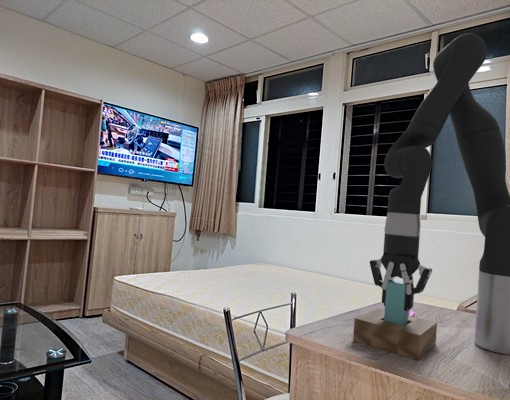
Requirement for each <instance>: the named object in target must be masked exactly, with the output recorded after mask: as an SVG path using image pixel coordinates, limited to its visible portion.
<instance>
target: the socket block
mask: <svg viewBox="0 0 510 400" xmlns="http://www.w3.org/2000/svg"><path fill="white" fill-rule="evenodd" d="M384 313H385V309H381V308H375V309H372V310H371V311H368V312H366V313H364V314H361V315H359V316H356V317H355V318H354V319H353V320H354V321H353V335H352V341H353V342H357V343H360V344H364V345H367V346H370V347H373V348H377V349H379V350H383V351H386V352H389V353H393V354H397V355H399V356H403V357H405V358H409V359H413V360H416V361H419V360H421V359H422V357H424V356H425V355H426V354H427V353H428V352H429V351H431V349H433V347H434V346H436V342H437V331H438V330H437V329H438V322H437V321H433V320H428V319H423V318H420V317H416V316H415V317H412V316H408V323H407V325H406V326H403V325H399V324H395V323H392V322H388V321H384Z"/></svg>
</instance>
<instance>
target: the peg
mask: <svg viewBox="0 0 510 400" xmlns="http://www.w3.org/2000/svg"><path fill="white" fill-rule="evenodd" d="M405 294H407V293H406V285H404V283H403V281H399V280H395V279H394V280H393V281H390V282H387V286H386V300H385V306H384V310H385V313H384V321H388V322H392V323H395V324H399V325H403V326H406V325H407V323H408V311H405V310H404V306H405Z"/></svg>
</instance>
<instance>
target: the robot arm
mask: <svg viewBox="0 0 510 400" xmlns="http://www.w3.org/2000/svg"><path fill="white" fill-rule="evenodd" d="M487 48H488V47H487V45H486V42H485V41H484V40H483V38H482V37H481V36H479V35H477V34H475V33H470V32H469V33H464V34H461V35H459V36H458V37H455V38H454V39H453V40H451V41H450V43H448V44H447V45H446V46H445V47H444V48H442V49H441V50H440V51H439V52H438V53H437V54H436V55H435V57H434V60H433V63H432V65H433V67H432V68H433V72H434V76H435V78H436V84H435V85H434V86H433V88H432V89H431V90H430V92H429V93H428V94H427V95H426V96H425V98H424V99H423V101H421V103H420V105H419V106H418V108H417V110H415V112H414V114H413V117H412V118H411V121H410V122H409V124H408V127H407V128H406V129H405V131H404V132H403V133H402V134H401V135H400V136H399V137H398V139H397V140H396V141H395V142H394V143H393V144H392V145H391V147H390V148H389V150H388V151H387V153H386V155H385V157H384V163H383V165H384V169H385V172H386V174H387V175H388V176H390V177H391V178H395V179H402V180H401V183H400V184H399V186H397V187H393V188H392V189H391V190H390V191H389V194H388V201H387V213H386V219H385V222H384V223H385V226H384V237H383V238H384V240H383V250H382V251H383V254H382V255H381V257H380V258H379V259H371V260H369V267H370V269H371V270H370V272H371V274H372V275H371V276H372V278H373V282H374V285H375V286H378V287H380V288H381V290H382V292H381V293H382V295H381V303H382V304H383V307H385V300H386V286H387V282H390V281H393V280H394V281H395V278H400V279H402V282H403V283H404V285H406V293H407V294H405V306H404V310H405V311H409V310H412V309H413V307H414V299H415V298H414V297H415V295H416V294H421V293H423V292H424V290H425V288H426V285H427V284H428V281H429V279H430V277H431V275H432V273H433V269H432V268H431V267H426V266H424V265H422V264H421V263H420V259H419V252H420V251H419V250H420V238H421V237H420V236H421V206H422V196H423V193H424V191H425V188H426V185H427V182H428V179H429V177H430V174H431V171H432V165H433V162H432V156H431V153H430V151H429V150H428V149H427V148H429V147H431V146H432V145H433V144H435V143H436V141H437V139H438V138H439V136H440V134H441V131H442V129H443V128H444V126H445V124H446V122H447V120H448V118H449V115H450V119H451V122H452V125H453V126H452V127H453V128H454V129H453V130H454V133H455V137H456V141H457V146H458V149H459V154H460V156H461V159H462V161H463V166H464V168H465V171H466V175H467V177H468V180H469V182H470V185H471V188H472V192H473V195H474V202H475V208H476V213H477V221H478V227H479V231H480V233H481V235H483V237H484V246H483V247H484V248H483V253H482V256H481V258H480V260H479V266H478V284H477V299H476V315H475V327H474V328H475V331H474V344H475V345H476V346H478V347H480V348H482V349H485V350H487V351H490V352H493V353H494V352H495V353H498V354H502V355H510V193H509V190H508V185H507V178H506V175H507V174H506V170H507V168H506V167H507V164H506V163H507V161H506V160H507V157H506V156H507V155H506V148H505V142H504V139H503V135H502V132H501V129H500V126H499V125H500V124H499V123H498V121H497V119H496V118H495V117H494V116H493V115H492V114H491V113H490V112H489V111H488V110H487V109H486V108H485V107H484V106H483V105H481V104H480V103H479V102H478V101H477V100H476V99H475V96H474V95H473V93H472V90H471V88H470V84H469V83H470V82H471V80H472V78H473V77H475V75H476V73H477V72H478V70H479V69H480V68H481V67H482V65H483V64H484V62H485V61H486V59H487V56H488V49H487ZM382 265H383V267H384V269H385V274H384V277H383V276H382V271H381V268H382ZM417 270H418V275H419V276H420V277H419V278H418V281H417V283H416V286H415V283H414V282H415V281H414V276H413V275H414V273H415V272H417Z"/></svg>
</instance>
